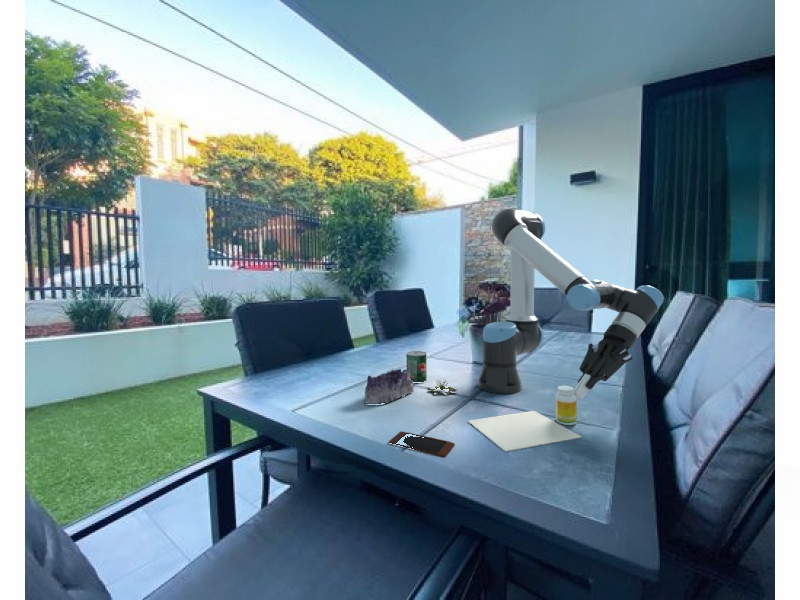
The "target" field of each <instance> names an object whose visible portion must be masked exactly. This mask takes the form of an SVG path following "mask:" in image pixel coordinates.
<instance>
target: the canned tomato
mask: <svg viewBox="0 0 800 600" xmlns="http://www.w3.org/2000/svg"><path fill="white" fill-rule="evenodd" d="M427 366H428V365H427V352H426V351H420V350H413V351H412V350H411V351H408V352H406V370H408V371H409V372H410V373H411V375H410V379H411V380H412V381H413V382H424V381H426V380H427V377H428V376H427V369H428V368H427ZM427 381H428V380H427ZM427 381H426V382H427Z"/></svg>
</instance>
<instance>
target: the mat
mask: <svg viewBox="0 0 800 600" xmlns="http://www.w3.org/2000/svg"><path fill="white" fill-rule="evenodd" d="M467 422H468V423H469V424H470V425H471V424H472V425H473V426H472V425H471V426H472V427H474V428H475V429H476V430H477V429H478V430H477V431H479V432H480V433H481V435H484V437H486V438H487V439H489V440H490V441H491V442H492V443H494V444H495V445H496V446H497V447H499V448H500V449H501V450H502V451H504V453H507V452H508V453H509V452H512V451H517V450H522V449H528V448H533V447H539V446H544V445H549V444H555V443H559V442H566V441H571V440H576V439H581V438H582V437H583V436H581V435H579V433H576V432H574V431H573V430H572V429H571V430H570V429H569V428H566V426H564V425H562V424H560V423H558V422H557V421H554V420H552V419H550V418H548V417H547V416H544V415H543V414H542V413H539V412H537V411H535V410H529V411H523V412H517V413H509V414H504V415H497V416H490V417H489V416H488V417H483V418H476V419H469V420H467Z"/></svg>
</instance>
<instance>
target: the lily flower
mask: <svg viewBox="0 0 800 600" xmlns="http://www.w3.org/2000/svg"><path fill="white" fill-rule="evenodd" d="M435 382H436V385H435V386H434V387H435V388H436V389H437V388H439V387H440V389H441V390H443V389H449V391H454V392H456V390H452V389H455V388H454V387H452V386H450V387H448V388H445V386H448V384H449V383H448V381H447V379H443V381H441V380H439V379H437V380H436V381H435ZM437 386H439V387H437ZM429 390H431V392H436V391H433V390H435V389H429V388H428V390H427V392H428V391H429ZM441 390H440V391H439V394H441V393H442V392H443V391H444V390H443V391H441ZM449 391H448V392H445V391H444V392H445V393H446V394H447V396H448V395H449V393H451V392H449ZM451 394H452V393H451ZM451 394H450V395H451ZM441 395H444V393H442V394H441Z"/></svg>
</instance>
